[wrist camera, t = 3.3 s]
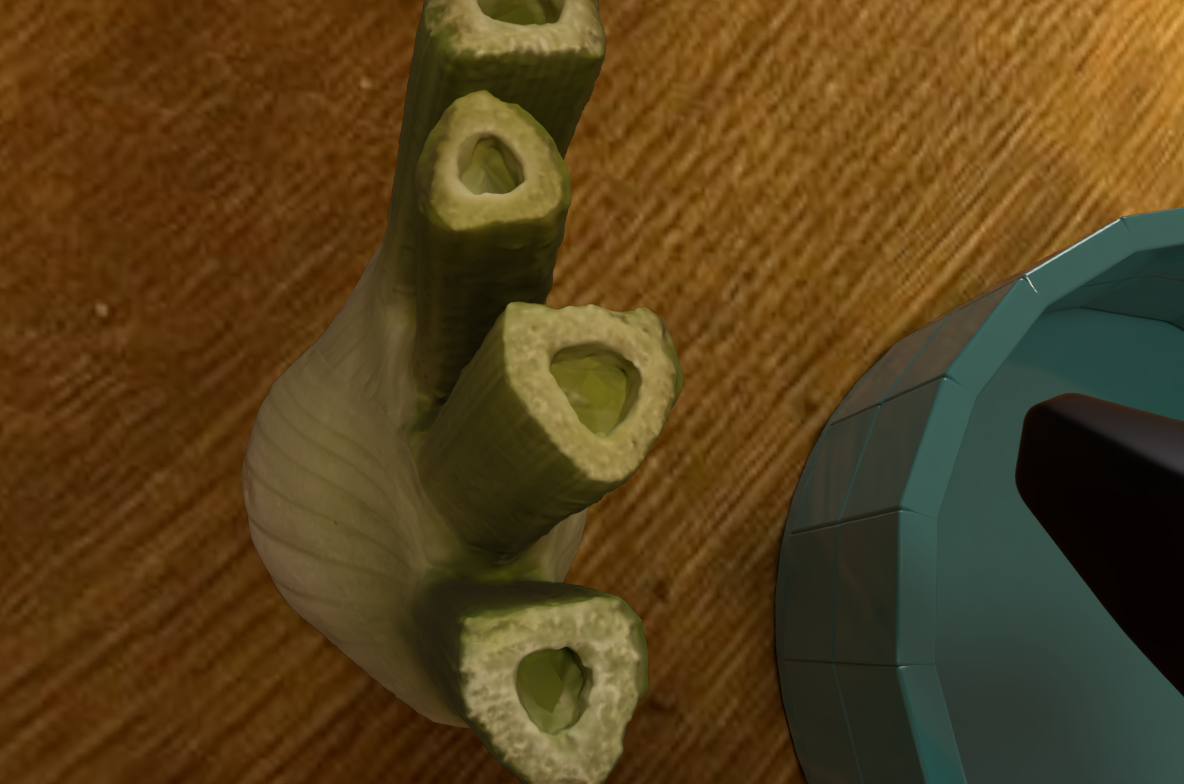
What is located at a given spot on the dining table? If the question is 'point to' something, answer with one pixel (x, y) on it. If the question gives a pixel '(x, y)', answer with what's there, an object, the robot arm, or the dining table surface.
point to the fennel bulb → (472, 415)
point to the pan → (979, 542)
